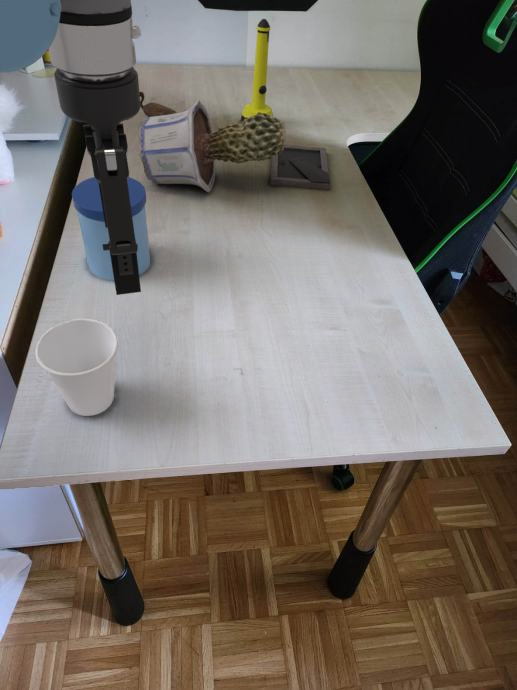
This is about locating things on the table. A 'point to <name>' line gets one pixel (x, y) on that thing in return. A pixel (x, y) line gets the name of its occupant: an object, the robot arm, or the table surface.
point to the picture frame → (300, 168)
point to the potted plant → (203, 145)
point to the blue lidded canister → (97, 233)
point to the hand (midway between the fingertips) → (121, 256)
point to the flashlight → (259, 74)
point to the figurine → (154, 108)
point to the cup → (81, 363)
